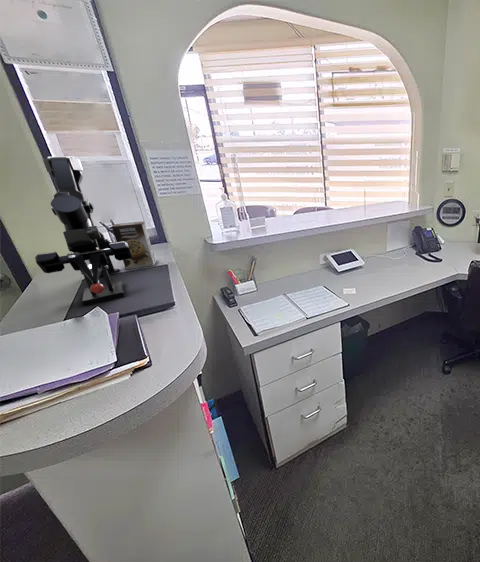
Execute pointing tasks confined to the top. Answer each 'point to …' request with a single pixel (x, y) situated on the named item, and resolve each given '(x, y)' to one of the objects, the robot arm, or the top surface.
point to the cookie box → (135, 244)
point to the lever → (96, 284)
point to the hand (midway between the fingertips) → (95, 282)
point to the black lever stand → (109, 291)
